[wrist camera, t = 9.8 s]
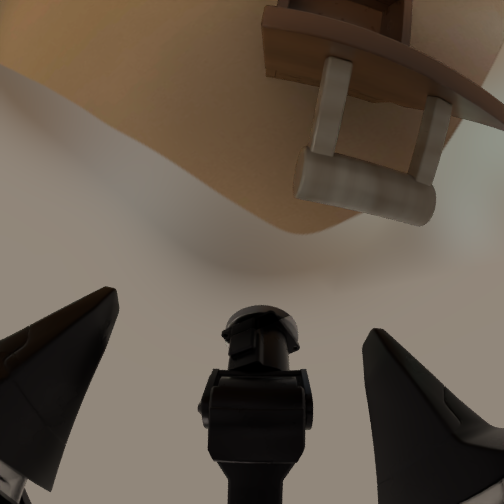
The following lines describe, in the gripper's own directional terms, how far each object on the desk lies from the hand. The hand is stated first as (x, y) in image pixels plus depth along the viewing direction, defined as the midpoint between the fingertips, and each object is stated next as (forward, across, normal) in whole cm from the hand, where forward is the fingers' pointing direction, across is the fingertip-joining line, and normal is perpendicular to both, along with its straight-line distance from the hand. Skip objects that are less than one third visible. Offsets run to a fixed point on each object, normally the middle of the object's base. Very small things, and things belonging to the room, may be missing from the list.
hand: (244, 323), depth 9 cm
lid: (+4, -3, -9) cm, 10 cm away
